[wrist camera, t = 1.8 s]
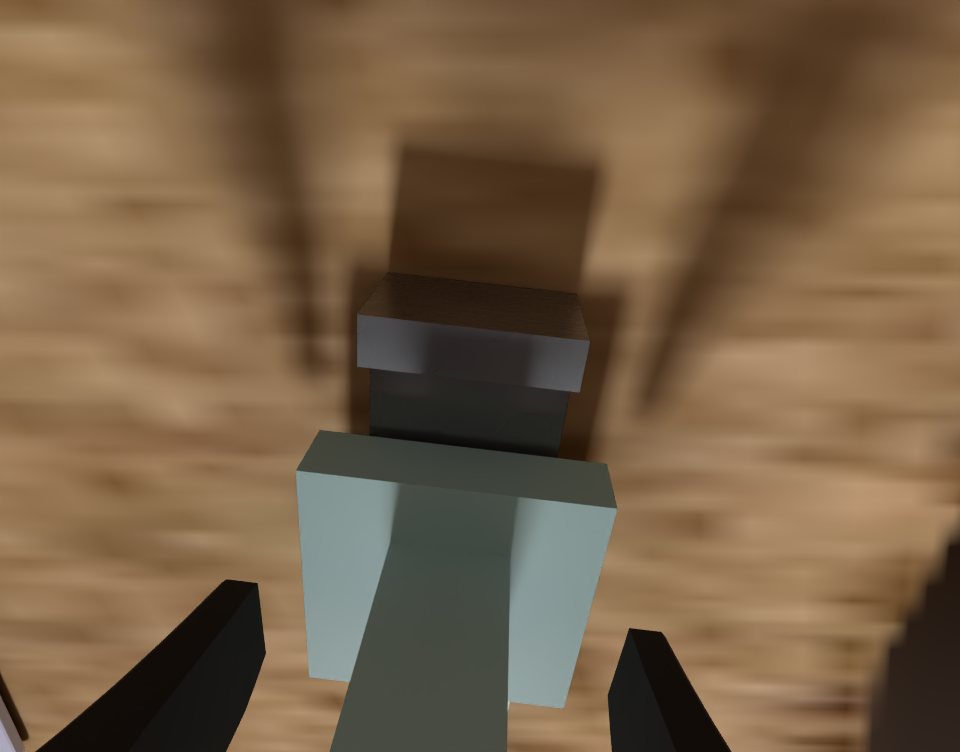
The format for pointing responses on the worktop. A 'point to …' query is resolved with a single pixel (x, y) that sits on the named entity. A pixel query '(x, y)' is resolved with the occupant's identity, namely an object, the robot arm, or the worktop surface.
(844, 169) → the worktop surface
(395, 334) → the rail
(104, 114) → the worktop surface
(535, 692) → the carriage
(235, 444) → the worktop surface
